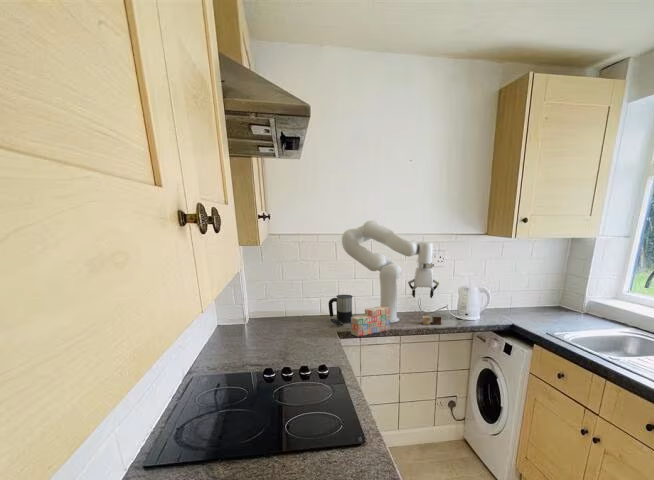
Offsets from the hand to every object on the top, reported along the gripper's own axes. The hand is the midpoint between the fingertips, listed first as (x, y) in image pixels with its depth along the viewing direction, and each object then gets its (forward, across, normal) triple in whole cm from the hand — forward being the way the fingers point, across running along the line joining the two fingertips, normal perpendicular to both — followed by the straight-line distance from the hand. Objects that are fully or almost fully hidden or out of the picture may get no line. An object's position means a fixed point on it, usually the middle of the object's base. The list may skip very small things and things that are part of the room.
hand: (422, 297), depth 229 cm
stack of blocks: (+16, +29, +18) cm, 38 cm away
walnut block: (+15, -9, +1) cm, 17 cm away
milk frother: (+16, +45, -1) cm, 48 cm away
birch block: (+15, -3, +1) cm, 15 cm away
